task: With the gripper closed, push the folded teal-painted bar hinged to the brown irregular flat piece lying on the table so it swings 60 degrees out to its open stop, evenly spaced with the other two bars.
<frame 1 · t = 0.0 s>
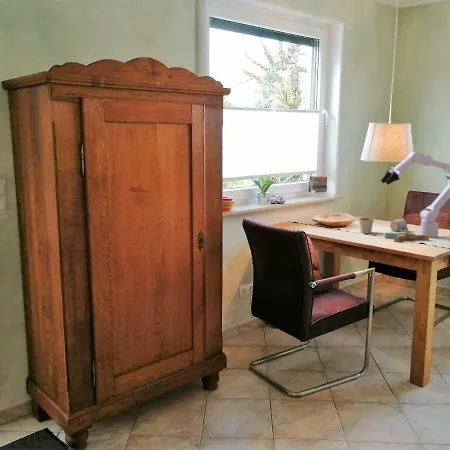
hand: (384, 182, 287), 32 cm above the table, tool tilted 50°, fingers open, 7 cm apart
ceramic mug: (399, 231, 309), on the table
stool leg: (396, 234, 288), point 2 cm above the table, hinge at 0.0°
flower pot: (365, 232, 305), on the table
brown irregular flat piece: (406, 238, 287), on the table
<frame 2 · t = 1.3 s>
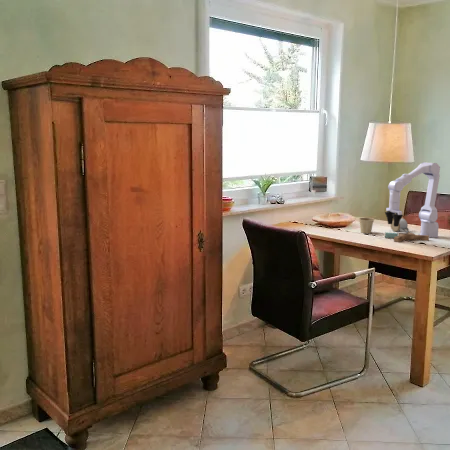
hand: (393, 225, 284), 8 cm above the table, tool pointing down, fingers open, 6 cm apart
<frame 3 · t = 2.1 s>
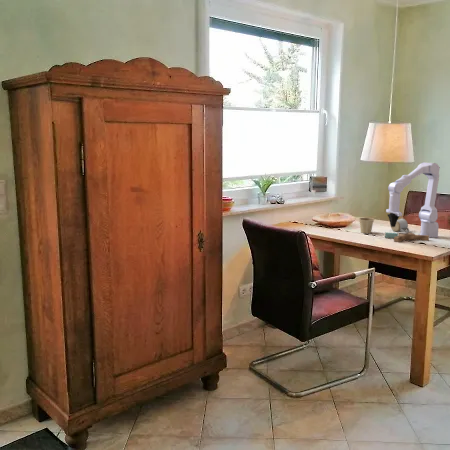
hand: (392, 226, 284), 8 cm above the table, tool pointing down, fingers closed
nothing on the table moved.
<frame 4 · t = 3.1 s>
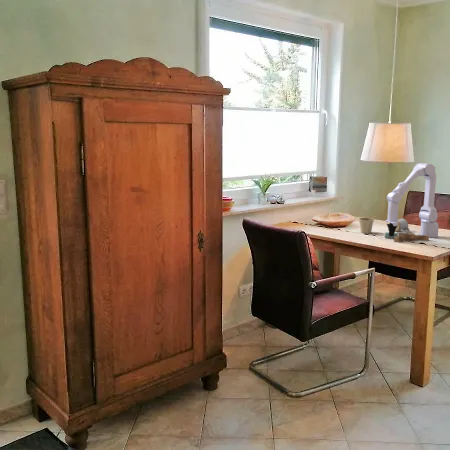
hand: (391, 236, 287), 2 cm above the table, tool pointing down, fingers closed
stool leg: (396, 234, 288), point 2 cm above the table, hinge at -0.3°, touching gripper
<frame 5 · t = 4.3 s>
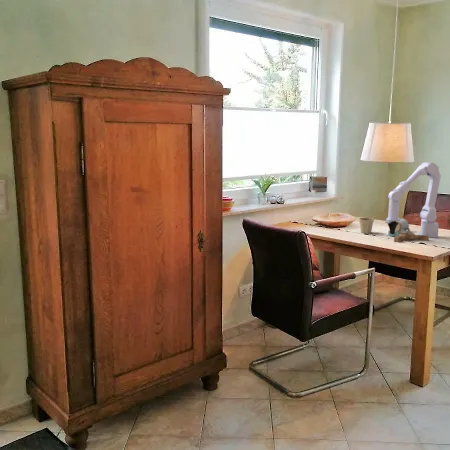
hand: (392, 233, 293), 2 cm above the table, tool pointing down, fingers closed, pressing on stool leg
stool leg: (398, 233, 291), point 2 cm above the table, hinge at -37.9°, touching gripper
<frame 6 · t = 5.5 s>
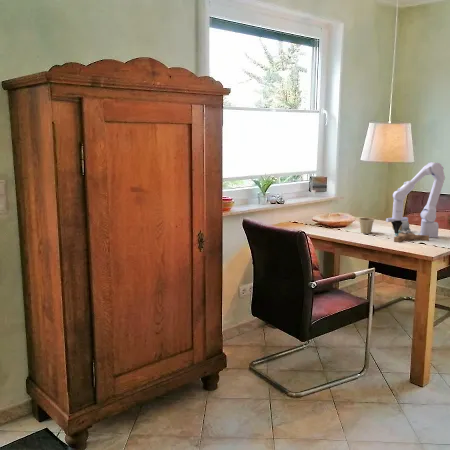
hand: (396, 233, 295), 2 cm above the table, tool pointing down, fingers closed
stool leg: (401, 233, 292), point 2 cm above the table, hinge at -63.1°, touching gripper
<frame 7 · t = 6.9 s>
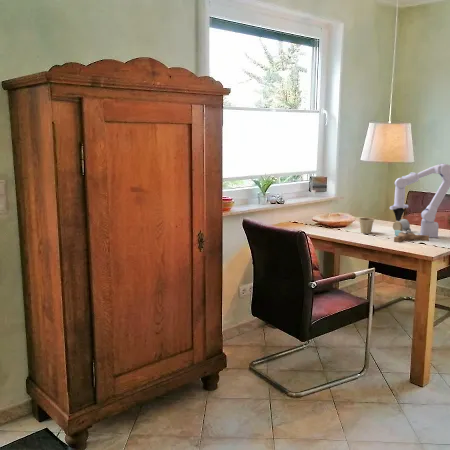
hand: (398, 220, 295), 9 cm above the table, tool pointing down, fingers closed
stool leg: (401, 233, 292), point 2 cm above the table, hinge at -63.1°
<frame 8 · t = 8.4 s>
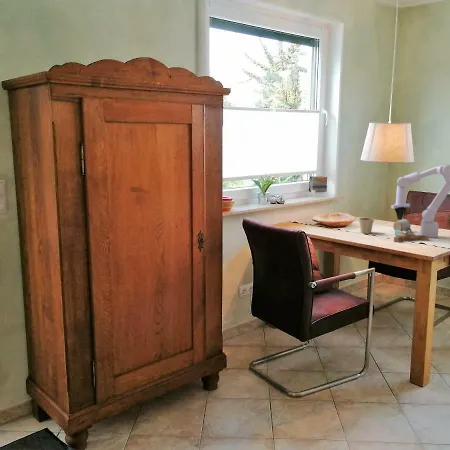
hand: (399, 219, 297), 9 cm above the table, tool pointing down, fingers closed
at the end: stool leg at -63° (first picture: +0°) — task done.
